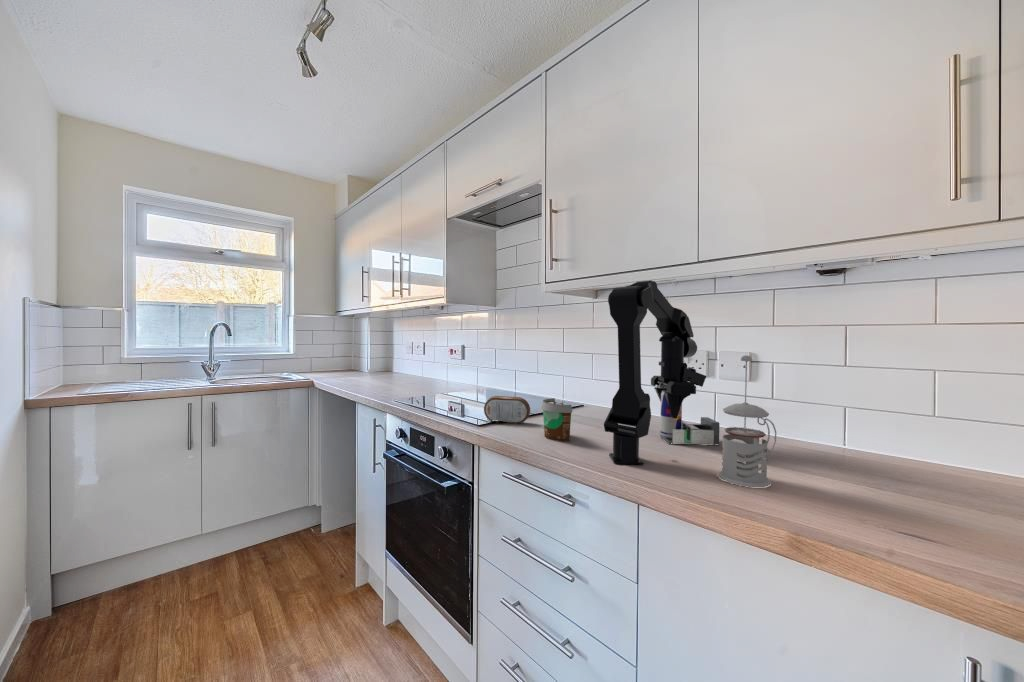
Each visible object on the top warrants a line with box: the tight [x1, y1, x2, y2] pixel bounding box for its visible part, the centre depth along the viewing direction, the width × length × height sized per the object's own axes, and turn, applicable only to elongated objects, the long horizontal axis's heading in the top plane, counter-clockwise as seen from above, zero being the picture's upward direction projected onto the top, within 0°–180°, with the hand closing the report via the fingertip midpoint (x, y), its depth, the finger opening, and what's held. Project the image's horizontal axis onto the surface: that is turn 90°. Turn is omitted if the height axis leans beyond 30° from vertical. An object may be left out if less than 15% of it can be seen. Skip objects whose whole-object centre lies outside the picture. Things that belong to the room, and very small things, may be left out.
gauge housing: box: [659, 416, 720, 445], centre depth 110 cm, size 7×13×6 cm, turn 87°
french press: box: [716, 354, 777, 487], centre depth 81 cm, size 10×12×25 cm
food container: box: [540, 397, 573, 442], centre depth 113 cm, size 12×6×10 cm, turn 17°
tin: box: [483, 395, 531, 424], centre depth 131 cm, size 15×3×8 cm, turn 79°
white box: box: [681, 420, 699, 440], centre depth 109 cm, size 8×4×4 cm, turn 177°
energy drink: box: [659, 390, 683, 438], centre depth 110 cm, size 5×5×12 cm
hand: (671, 415), depth 110 cm, fingers closed on energy drink, 5 cm apart
